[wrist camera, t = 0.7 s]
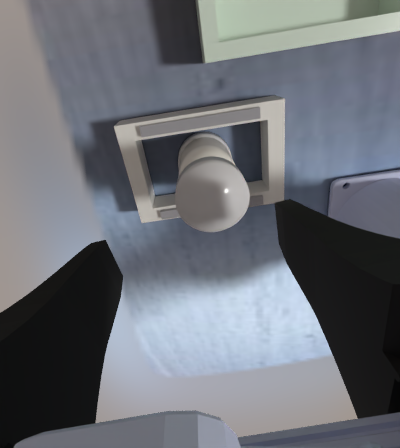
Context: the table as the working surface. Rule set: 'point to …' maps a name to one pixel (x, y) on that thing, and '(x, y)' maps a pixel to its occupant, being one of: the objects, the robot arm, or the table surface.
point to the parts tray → (287, 24)
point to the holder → (195, 121)
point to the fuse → (209, 184)
